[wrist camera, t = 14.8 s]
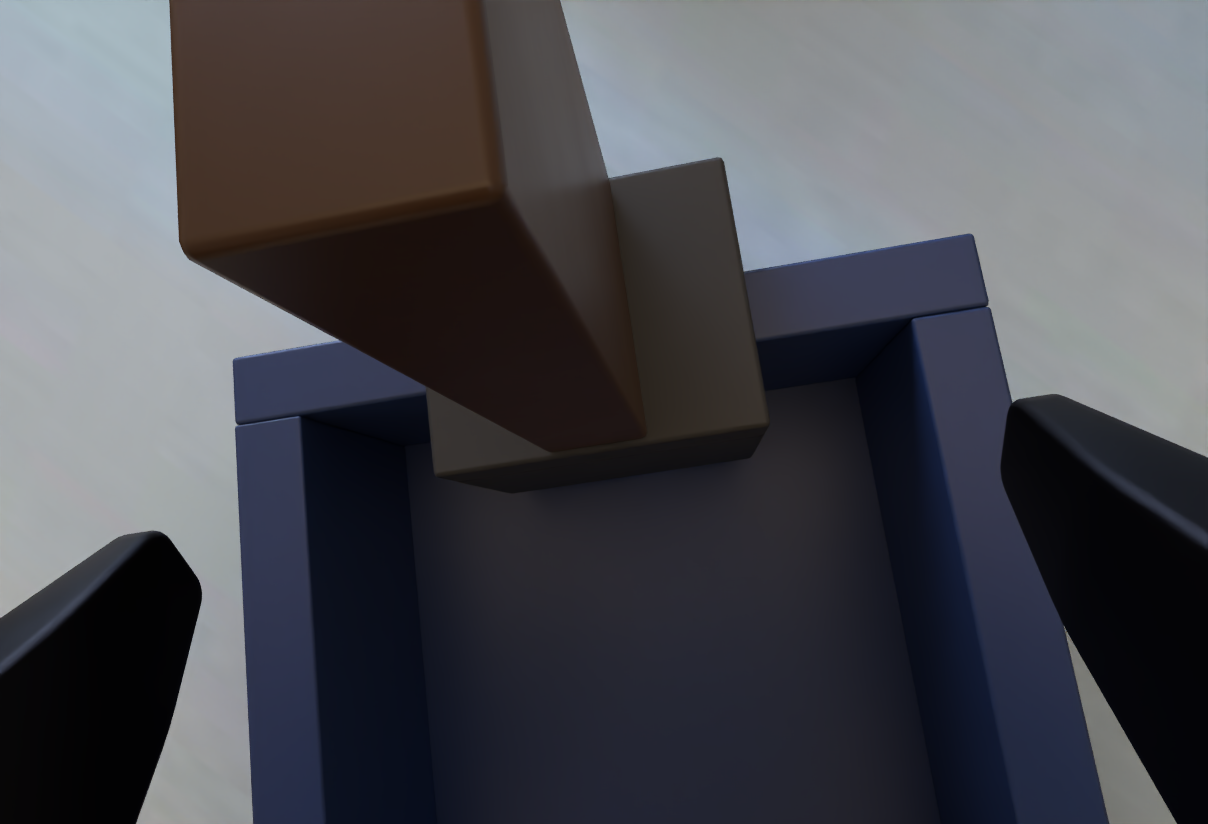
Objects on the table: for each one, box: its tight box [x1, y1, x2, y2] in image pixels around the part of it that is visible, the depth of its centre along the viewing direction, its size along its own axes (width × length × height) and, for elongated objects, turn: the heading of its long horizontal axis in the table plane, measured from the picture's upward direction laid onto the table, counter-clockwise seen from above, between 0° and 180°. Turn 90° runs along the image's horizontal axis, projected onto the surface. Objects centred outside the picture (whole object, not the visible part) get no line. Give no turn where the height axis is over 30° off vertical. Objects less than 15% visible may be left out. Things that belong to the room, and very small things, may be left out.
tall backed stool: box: [169, 0, 770, 494], centre depth 10 cm, size 4×5×12 cm
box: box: [233, 234, 1109, 824], centre depth 14 cm, size 14×12×5 cm
